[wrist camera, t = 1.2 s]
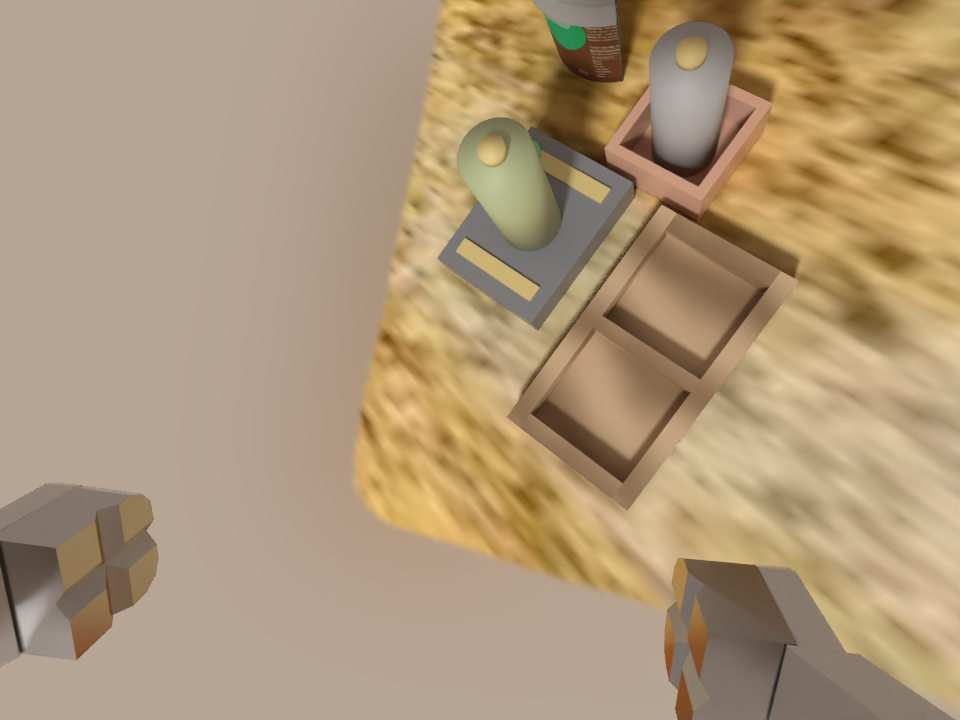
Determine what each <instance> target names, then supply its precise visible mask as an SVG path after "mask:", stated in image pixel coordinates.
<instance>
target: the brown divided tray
mask: <svg viewBox="0 0 960 720" xmlns="http://www.w3.org/2000/svg"><path fill="white" fill-rule="evenodd" d="M798 282H799V281H798V280H796V279H794V278H793V277H791V276H789V275H787V274H785V273H784V272H782V271H780V270H778V269H776V268H775V267H773V266H771V265H769V264H767V263H766V262H764V261H762V260H760V259H758V258H757V257H755V256H753V255H751V254H749V253H748V252H746V251H744V250H742V249H740V248H739V247H737V246H735V245H733V244H731V243H730V242H728V241H726V240H724V239H722V238H721V237H719V236H717V235H715V234H713V233H712V232H710V231H708V230H706V229H704V228H703V227H701V226H699V225H697V224H695V223H694V222H692V221H690V220H688V219H686V218H685V217H683V216H681V215H679V214H677V213H676V212H674V211H672V210H670V209H668V208H667V207H665V206H663V205H661V206H660V208H659V209H658V210H657V212H656V213H655V215H654V216H653V217H652V219H651V220H650V221H649V223H648V224H647V226H646V227H645V228H644V230H643V231H642V232H641V234H640V235H639V236H638V238H637V239H636V241H635V242H634V243H633V245H632V246H631V247H630V249H629V250H628V252H627V253H626V254H625V256H624V257H623V258H622V260H621V261H620V263H619V264H618V265H617V267H616V268H615V269H614V271H613V272H612V274H611V275H610V276H609V278H608V279H607V280H606V282H605V283H604V284H603V286H602V287H601V289H600V290H599V291H598V293H597V294H596V295H595V297H594V298H593V300H592V301H591V302H590V304H589V305H588V306H587V308H586V309H585V311H584V312H583V313H582V315H581V316H580V317H579V319H578V320H577V321H576V323H575V324H574V326H573V327H572V328H571V330H570V331H569V332H568V334H567V335H566V337H565V338H564V339H563V341H562V342H561V343H560V345H559V346H558V348H557V349H556V350H555V352H554V353H553V354H552V356H551V357H550V358H549V360H548V361H547V363H546V364H545V365H544V367H543V368H542V369H541V371H540V372H539V374H538V375H537V376H536V378H535V379H534V380H533V382H532V383H531V385H530V386H529V387H528V389H527V390H526V391H525V393H524V394H523V396H522V397H521V398H520V400H519V401H518V402H517V404H516V405H515V406H514V408H513V409H512V411H511V412H510V413H509V415H508V416H507V418H508V419H510V420H511V421H512V422H514V423H515V424H516V425H517V426H519V427H520V428H521V429H523V430H524V431H525V432H526V433H528V434H529V435H530V436H532V437H533V438H534V439H536V440H537V441H538V442H539V443H541V444H542V445H543V446H545V447H546V448H547V449H548V450H550V451H551V452H552V453H554V454H555V455H556V456H557V457H559V458H560V459H561V460H563V461H564V462H565V463H567V464H568V465H569V466H570V467H572V468H573V469H574V470H576V471H577V472H578V473H579V474H581V475H582V476H583V477H585V478H586V479H587V480H588V481H590V482H591V483H592V484H594V485H595V486H596V487H598V488H599V489H600V490H601V491H603V492H604V493H605V494H607V495H608V496H609V497H610V498H612V499H613V500H614V501H616V502H617V503H618V504H620V505H621V506H622V507H623V508H625V509H626V510H628V509H629V508H630V506H631V505H632V504H633V502H634V501H635V500H636V498H637V497H638V496H639V494H640V493H641V492H642V490H643V489H644V488H645V486H646V485H647V484H648V482H649V481H650V480H651V478H652V477H653V476H654V474H655V473H656V472H657V470H658V469H659V468H660V466H661V465H662V464H663V462H664V461H665V460H666V458H667V457H668V456H669V454H670V453H671V452H672V450H673V449H674V448H675V446H676V445H677V444H678V442H679V441H680V439H681V438H682V437H683V435H684V434H685V433H686V431H687V430H688V429H689V427H690V426H691V425H692V423H693V422H694V421H695V419H696V418H697V417H698V415H699V414H700V413H701V411H702V410H703V409H704V407H705V406H706V405H707V403H708V402H709V401H710V399H711V398H712V397H713V395H714V394H715V393H716V391H717V390H718V389H719V387H720V386H721V385H722V383H723V382H724V381H725V379H726V378H727V377H728V375H729V374H730V373H731V371H732V370H733V369H734V367H735V366H736V365H737V363H738V362H739V361H740V359H741V358H742V357H743V355H744V354H745V353H746V351H747V350H748V349H749V347H750V346H751V344H752V343H753V342H754V340H755V339H756V338H757V336H758V335H759V334H760V332H761V331H762V330H763V328H764V327H765V326H766V324H767V323H768V322H769V320H770V319H771V318H772V316H773V315H774V314H775V312H776V311H777V310H778V308H779V307H780V306H781V304H782V303H783V302H784V300H785V299H786V298H787V296H788V295H789V294H790V292H791V291H792V290H793V288H794V287H795V286H796V284H797V283H798Z"/></svg>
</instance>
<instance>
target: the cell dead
mask: <svg viewBox="0 0 960 720" xmlns="http://www.w3.org/2000/svg"><path fill="white" fill-rule="evenodd" d="M733 58H734V46H733V43H732V40H731V38H730V36H729V35H728V34H727V33H726V32H725V31H724V30H723V29H722V28H721V27H719V26H717V25H715V24H712V23H709V22H703V21H694V22H688V23H684V24H681V25H678V26H676V27H674V28H672V29H671V30H669V31H668V32H666V33H665V34H664V35H663V36H662V37H661V38H660V39H659V40H658V41H657V43H656V44H655V46H654V48H653V50H652V52H651V55H650V61H649V70H650V107H651V144H652V158H653V161H654V163H655V164H657V165H658V166H660V167H662V168H664V169H666V170H668V171H670V172H672V173H673V174H675V175H677V176H679V177H681V178H684V177H690V176H693V175H696V174H698V173H700V172H702V171H703V170H704V169H706V168H707V167H708V166H709V165H710V163H711V162H712V161H713V159H714V157H715V154H716V151H717V145H718V140H719V135H720V129H721V124H722V118H723V113H724V107H725V102H726V96H727V91H728V86H729V80H730V75H731V69H732V64H733Z"/></svg>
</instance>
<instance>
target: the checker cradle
mask: <svg viewBox="0 0 960 720" xmlns="http://www.w3.org/2000/svg"><path fill="white" fill-rule="evenodd" d="M528 133H529V135H530V137H531V140H532V142H533V145H534V147H535V150H536V152H537V154H538V157H539V159H540V162H541V164H542V167H543V169H544V172H545V174H546V177H547V179H548V182H549V184H550V187H551V189H552V192H553V194H554V197H555V199H556V202H557V204H558V206H559V209H560V212H561V218H562V220H561V227H560V230H559V232H558V234H557V236H556V237H555V238H554V240H553V241H552V242H551V243H550V244H548V245H547V246H545V247H544V248H541V249H539V250H536V251H522V250H518V249H516V248H514V247H513V246H511V245H510V244H509V243H508V242H507V240H506V239H505V238H504V236H503V235H502V233H501V232H500V231H499V229H498V228H497V226H496V225H495V223H494V222H493V221H492V219H491V218H490V216H489V215H488V213H487V212H486V211H485V209H484V208H483V206H482V205H481V204H480V202H479V201H478V202H477V203H476V205H475V206H474V207H473V209H472V210H471V212H470V213H469V214H468V216H467V217H466V219H465V220H464V221H463V223H462V224H461V226H460V227H459V229H458V230H457V231H456V233H455V234H454V236H453V237H452V238H451V240H450V241H449V243H448V244H447V245H446V247H445V248H444V250H443V251H442V252H441V254H440V255H439V257H438V258H437V259H439V260H440V261H441V262H442V263H443V264H444V265H445V266H446V267H447V268H449V269H450V270H452V271H453V272H454V273H456V274H457V275H459V276H460V277H462V278H463V279H465V280H466V281H467V282H469V283H470V284H472V285H473V286H475V287H476V288H477V289H479V290H480V291H482V292H483V293H485V294H486V295H488V296H489V297H490V298H492V299H493V300H495V301H496V302H498V303H499V304H501V305H502V306H503V307H505V308H506V309H508V310H509V311H511V312H512V313H513V314H515V315H516V316H518V317H519V318H521V319H522V320H524V321H525V322H526V323H528V324H529V325H531V326H532V327H534V328H535V329H537V330H539V328H540V327H541V326H542V324H543V323H544V322H545V320H546V319H547V317H548V316H549V315H550V313H551V312H552V311H553V309H554V308H555V306H556V305H557V304H558V302H559V301H560V299H561V298H562V297H563V295H564V294H565V293H566V291H567V290H568V288H569V287H570V286H571V284H572V283H573V282H574V280H575V279H576V277H577V276H578V275H579V273H580V272H581V271H582V269H583V268H584V266H585V265H586V264H587V262H588V261H589V260H590V258H591V257H592V255H593V254H594V253H595V251H596V250H597V249H598V247H599V246H600V244H601V243H602V242H603V240H604V239H605V238H606V236H607V235H608V233H609V232H610V231H611V229H612V228H613V227H614V225H615V224H616V222H617V221H618V220H619V218H620V217H621V216H622V214H623V213H624V211H625V210H626V209H627V207H628V206H629V205H630V203H631V202H632V200H633V199H634V198H635V195H634V185H633V182H631V181H629V180H627V179H626V178H624V177H622V176H620V175H618V174H617V173H615V172H613V171H611V170H609V169H607V168H606V167H604V166H602V165H600V164H598V163H597V162H595V161H593V160H591V159H589V158H588V157H586V156H584V155H582V154H580V153H578V152H577V151H575V150H573V149H571V148H569V147H568V146H566V145H564V144H562V143H560V142H559V141H557V140H555V139H553V138H551V137H550V136H548V135H546V134H544V133H542V132H540V131H539V130H537V129H535V128H533V127H530V129H529V130H528Z"/></svg>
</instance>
